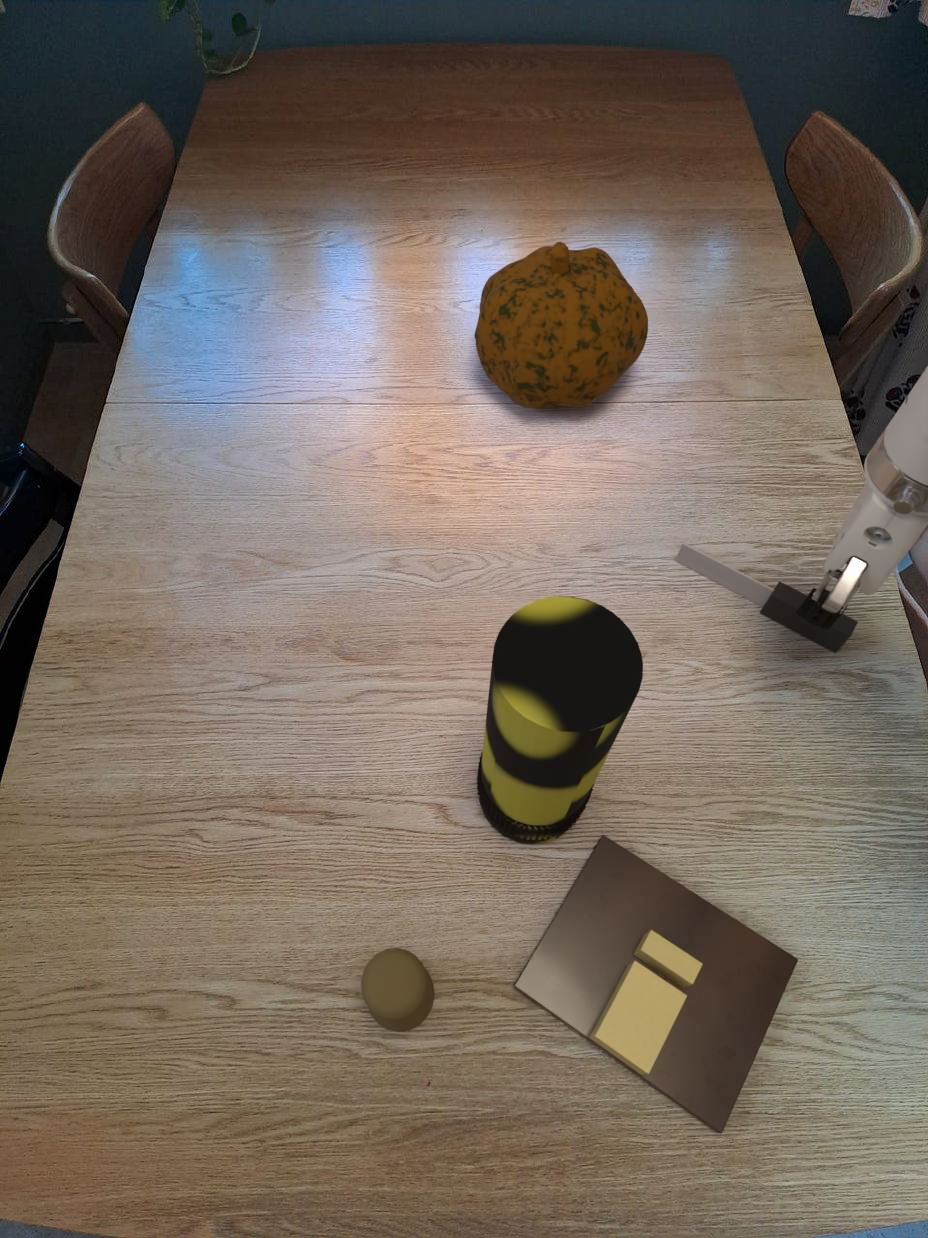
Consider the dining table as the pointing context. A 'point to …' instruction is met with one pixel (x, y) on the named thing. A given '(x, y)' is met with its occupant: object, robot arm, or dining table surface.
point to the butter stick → (638, 1017)
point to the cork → (397, 990)
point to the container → (553, 713)
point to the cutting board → (662, 976)
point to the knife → (768, 599)
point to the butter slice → (668, 959)
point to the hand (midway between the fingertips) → (831, 581)
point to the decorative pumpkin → (559, 327)
